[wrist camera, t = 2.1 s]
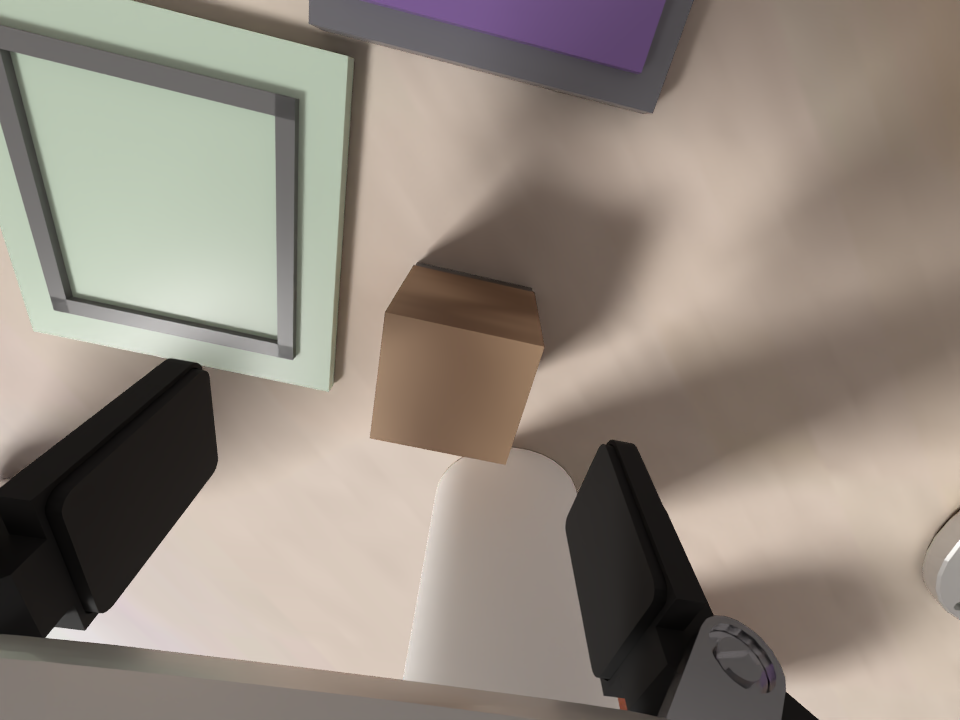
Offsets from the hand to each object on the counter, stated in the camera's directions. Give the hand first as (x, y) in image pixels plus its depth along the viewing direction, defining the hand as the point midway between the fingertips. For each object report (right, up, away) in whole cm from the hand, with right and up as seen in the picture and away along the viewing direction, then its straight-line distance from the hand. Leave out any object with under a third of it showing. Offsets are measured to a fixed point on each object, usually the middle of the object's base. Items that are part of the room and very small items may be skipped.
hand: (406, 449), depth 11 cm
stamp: (+1, +3, +7) cm, 8 cm away
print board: (-9, +7, +5) cm, 13 cm away
